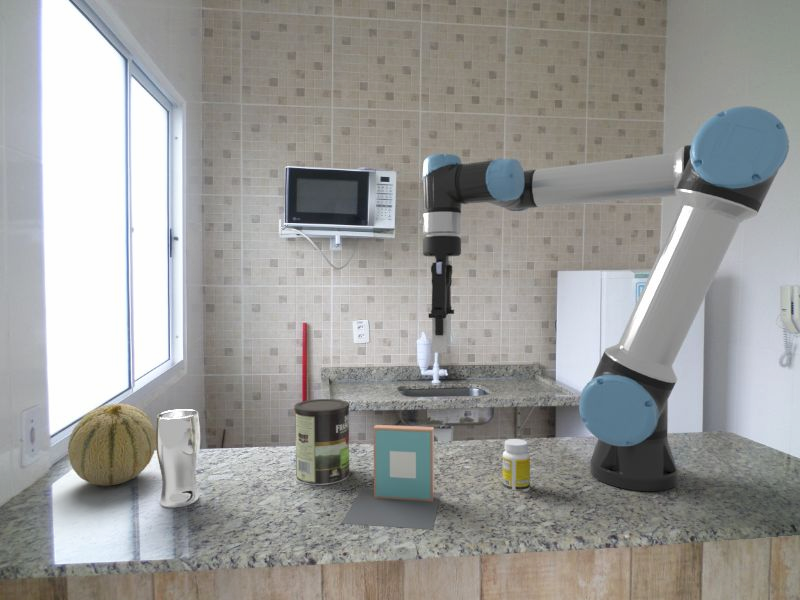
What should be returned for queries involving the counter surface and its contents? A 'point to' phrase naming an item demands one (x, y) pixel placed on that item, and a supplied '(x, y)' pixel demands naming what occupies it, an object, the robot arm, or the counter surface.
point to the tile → (404, 462)
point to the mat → (392, 511)
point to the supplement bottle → (516, 465)
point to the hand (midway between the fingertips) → (442, 349)
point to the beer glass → (178, 456)
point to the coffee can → (322, 441)
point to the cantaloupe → (111, 444)
